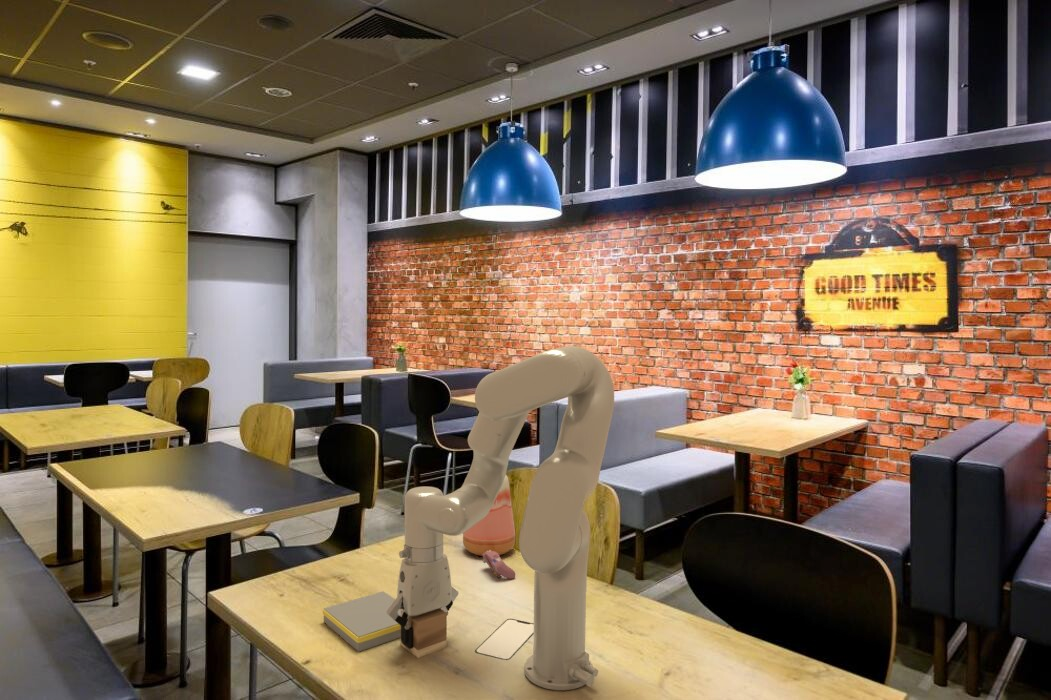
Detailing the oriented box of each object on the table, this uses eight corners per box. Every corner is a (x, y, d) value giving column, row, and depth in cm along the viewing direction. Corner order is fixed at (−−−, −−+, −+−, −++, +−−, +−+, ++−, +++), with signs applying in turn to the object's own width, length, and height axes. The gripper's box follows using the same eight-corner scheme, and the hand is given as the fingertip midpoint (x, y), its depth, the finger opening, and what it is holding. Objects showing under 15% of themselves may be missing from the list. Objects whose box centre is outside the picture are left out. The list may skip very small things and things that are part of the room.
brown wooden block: (446, 647, 134) (446, 612, 134) (417, 657, 130) (418, 622, 129) (428, 635, 139) (428, 601, 138) (400, 644, 135) (400, 610, 134)
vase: (482, 539, 197) (483, 437, 195) (524, 548, 190) (526, 443, 188) (452, 554, 185) (452, 446, 183) (496, 564, 177) (497, 452, 176)
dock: (421, 630, 141) (421, 616, 140) (358, 652, 131) (358, 637, 131) (383, 604, 153) (383, 591, 153) (322, 622, 144) (322, 608, 144)
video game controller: (487, 573, 176) (476, 551, 174) (502, 563, 177) (491, 541, 175) (502, 587, 167) (491, 564, 165) (518, 577, 168) (506, 554, 167)
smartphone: (508, 663, 129) (541, 627, 144) (508, 661, 129) (541, 625, 144) (472, 654, 132) (507, 619, 147) (472, 652, 132) (507, 617, 147)
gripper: (394, 567, 125) (394, 662, 126) (471, 547, 136) (470, 634, 137) (374, 555, 130) (374, 646, 132) (450, 537, 142) (449, 620, 143)
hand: (423, 639), depth 134 cm, fingers closed on brown wooden block, 6 cm apart
